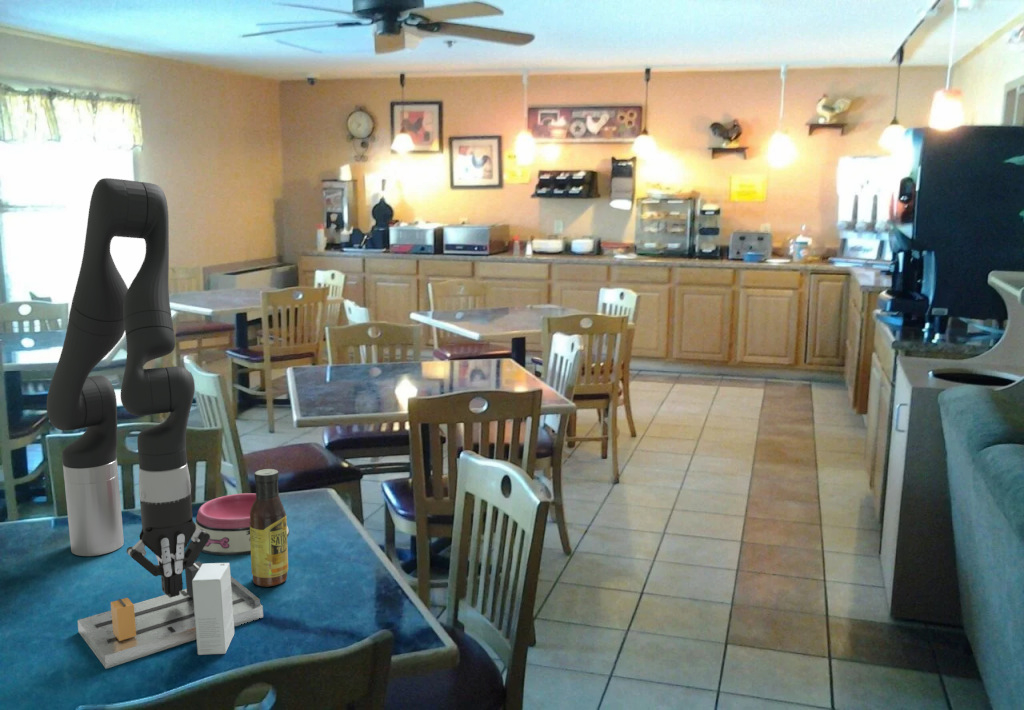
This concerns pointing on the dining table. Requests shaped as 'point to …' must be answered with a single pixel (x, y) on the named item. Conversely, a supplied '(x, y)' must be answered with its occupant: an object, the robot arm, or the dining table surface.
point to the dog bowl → (227, 524)
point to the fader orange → (123, 619)
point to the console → (159, 625)
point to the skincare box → (213, 608)
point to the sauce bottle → (268, 532)
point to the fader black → (191, 577)
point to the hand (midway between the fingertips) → (172, 594)
